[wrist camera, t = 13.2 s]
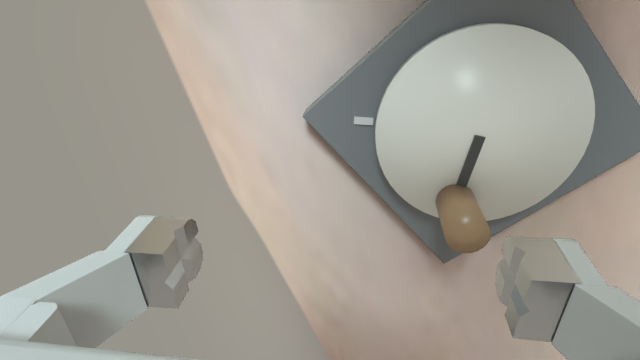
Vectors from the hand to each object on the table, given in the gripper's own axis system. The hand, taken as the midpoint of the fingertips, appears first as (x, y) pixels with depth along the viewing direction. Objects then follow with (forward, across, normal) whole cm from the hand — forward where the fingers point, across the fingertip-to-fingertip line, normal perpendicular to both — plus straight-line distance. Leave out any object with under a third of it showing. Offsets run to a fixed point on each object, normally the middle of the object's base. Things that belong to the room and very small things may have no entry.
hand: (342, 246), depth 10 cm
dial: (+23, -9, +6) cm, 25 cm away
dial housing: (+25, -9, +6) cm, 27 cm away
